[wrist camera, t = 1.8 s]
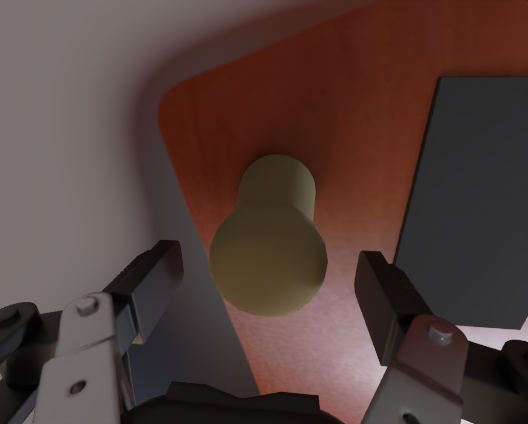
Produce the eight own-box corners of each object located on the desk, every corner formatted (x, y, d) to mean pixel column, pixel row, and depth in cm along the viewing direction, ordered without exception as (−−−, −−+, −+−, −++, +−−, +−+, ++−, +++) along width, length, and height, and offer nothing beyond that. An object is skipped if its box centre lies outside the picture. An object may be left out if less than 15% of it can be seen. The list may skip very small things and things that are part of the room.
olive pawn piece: (226, 170, 19) (159, 241, 9) (301, 141, 18) (316, 187, 8) (256, 235, 21) (227, 351, 11) (325, 213, 20) (362, 323, 10)
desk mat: (438, 77, 16) (442, 76, 16) (651, 76, 15) (660, 75, 15) (379, 316, 24) (381, 320, 23) (516, 326, 23) (520, 329, 22)
